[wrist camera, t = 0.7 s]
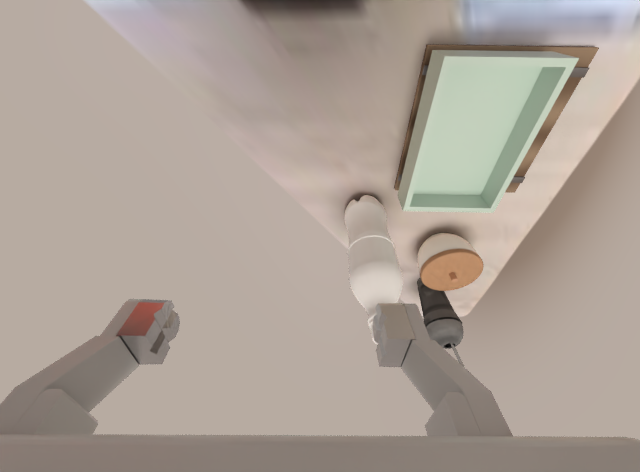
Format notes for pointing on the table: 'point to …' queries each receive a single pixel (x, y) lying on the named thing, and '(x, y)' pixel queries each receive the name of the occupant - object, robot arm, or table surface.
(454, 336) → the beverage cup
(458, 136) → the mint green tray
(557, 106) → the track
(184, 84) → the table surface
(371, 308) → the water bottle
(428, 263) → the lidded jar
